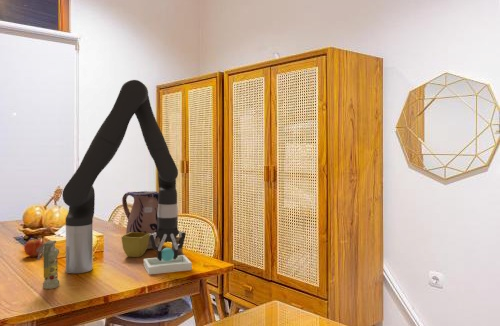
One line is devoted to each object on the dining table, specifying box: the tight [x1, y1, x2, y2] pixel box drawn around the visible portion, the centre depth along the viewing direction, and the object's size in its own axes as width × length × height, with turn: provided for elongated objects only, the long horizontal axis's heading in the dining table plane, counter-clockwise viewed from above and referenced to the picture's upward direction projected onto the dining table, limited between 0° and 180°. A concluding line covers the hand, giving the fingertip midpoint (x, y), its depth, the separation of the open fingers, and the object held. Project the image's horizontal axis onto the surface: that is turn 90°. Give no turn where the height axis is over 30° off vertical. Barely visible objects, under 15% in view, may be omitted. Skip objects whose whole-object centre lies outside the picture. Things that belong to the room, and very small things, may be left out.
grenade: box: [36, 240, 60, 290], centre depth 137 cm, size 6×7×15 cm
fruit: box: [24, 237, 44, 258], centre depth 173 cm, size 7×7×8 cm
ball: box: [161, 247, 174, 261], centre depth 160 cm, size 5×5×5 cm
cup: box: [171, 236, 185, 256], centre depth 176 cm, size 6×6×8 cm
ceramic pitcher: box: [121, 190, 160, 250], centre depth 190 cm, size 18×21×25 cm
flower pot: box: [121, 232, 150, 258], centre depth 176 cm, size 9×9×9 cm
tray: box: [143, 254, 193, 275], centre depth 160 cm, size 16×12×3 cm
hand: (167, 259), depth 160 cm, fingers closed on ball, 5 cm apart
